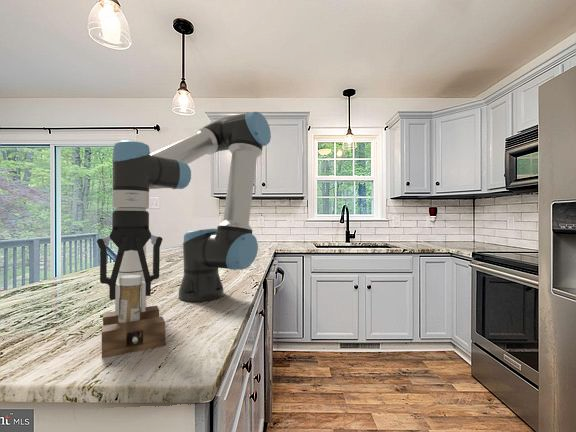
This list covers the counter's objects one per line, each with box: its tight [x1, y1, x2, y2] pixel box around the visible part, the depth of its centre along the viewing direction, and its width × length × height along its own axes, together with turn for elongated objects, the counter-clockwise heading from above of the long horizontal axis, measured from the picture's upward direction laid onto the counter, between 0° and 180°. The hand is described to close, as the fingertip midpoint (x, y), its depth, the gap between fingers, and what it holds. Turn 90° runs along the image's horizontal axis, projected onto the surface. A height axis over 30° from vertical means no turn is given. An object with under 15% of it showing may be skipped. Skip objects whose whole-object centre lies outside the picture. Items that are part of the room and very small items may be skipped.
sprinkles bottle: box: [118, 275, 142, 338], centre depth 72 cm, size 5×5×14 cm
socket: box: [101, 305, 166, 358], centre depth 72 cm, size 12×15×5 cm
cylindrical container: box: [117, 243, 148, 308], centre depth 90 cm, size 7×7×25 cm
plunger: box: [128, 331, 140, 344], centre depth 67 cm, size 2×6×2 cm, turn 29°
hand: (130, 311), depth 72 cm, fingers closed on sprinkles bottle, 5 cm apart
